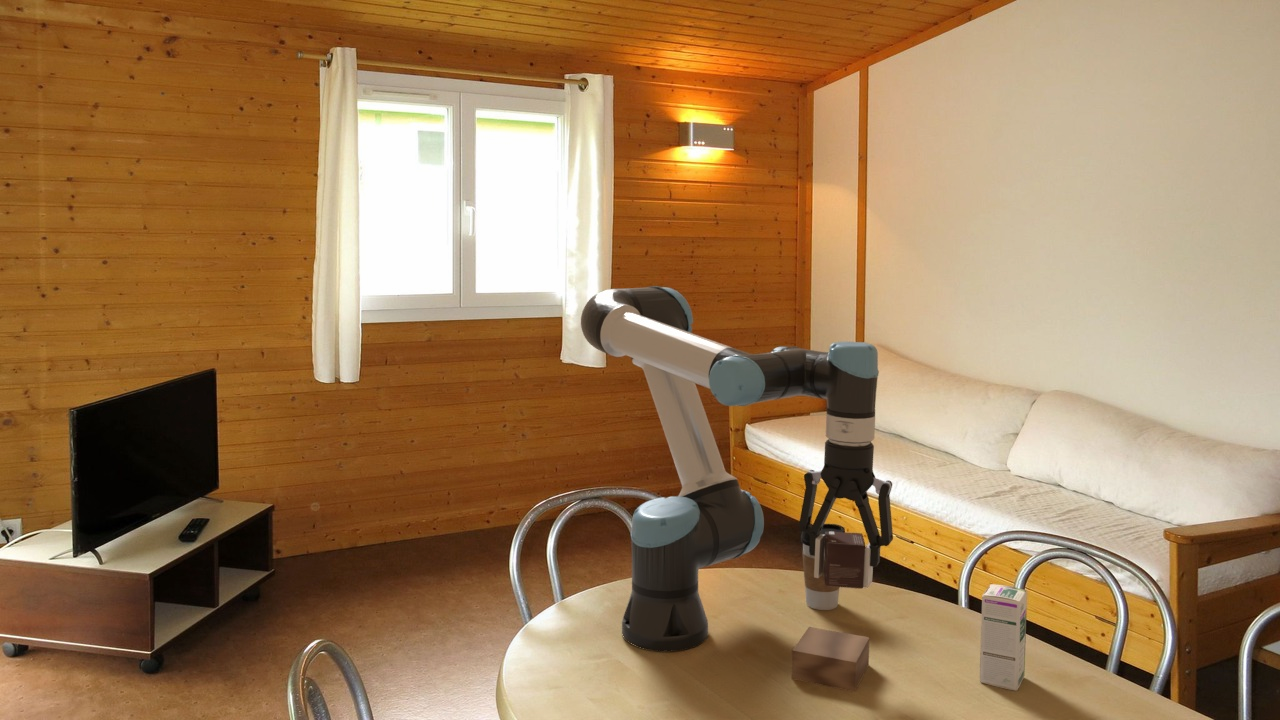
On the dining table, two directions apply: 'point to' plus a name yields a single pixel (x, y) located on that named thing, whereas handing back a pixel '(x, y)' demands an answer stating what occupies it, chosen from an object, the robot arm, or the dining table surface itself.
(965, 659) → the dining table surface
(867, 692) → the dining table surface
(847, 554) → the box
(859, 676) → the walnut block
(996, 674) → the syrup box
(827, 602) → the coffee cup
